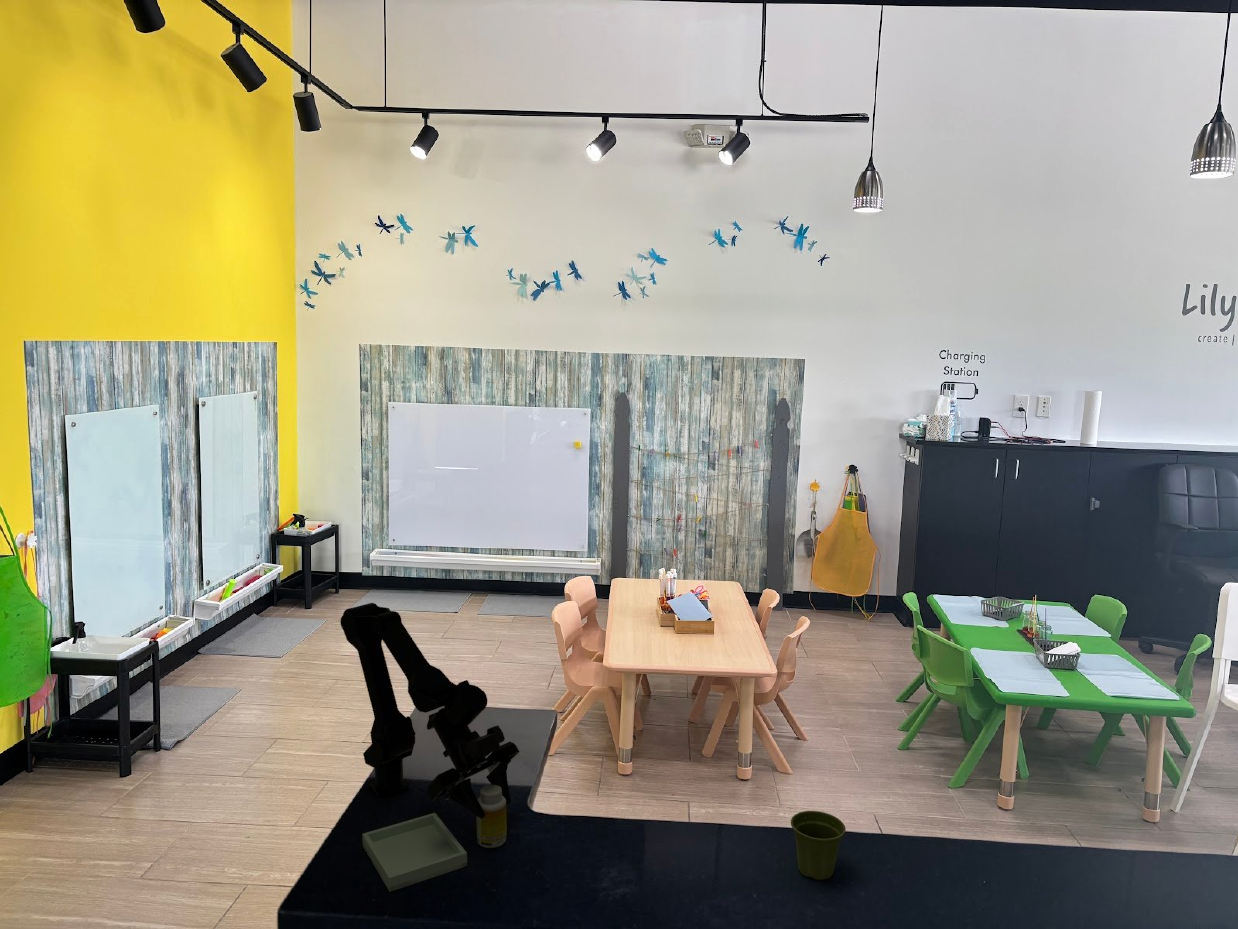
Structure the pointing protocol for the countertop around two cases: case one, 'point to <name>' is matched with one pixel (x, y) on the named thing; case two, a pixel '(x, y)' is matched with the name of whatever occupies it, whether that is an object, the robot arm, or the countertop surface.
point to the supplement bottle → (492, 817)
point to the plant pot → (817, 842)
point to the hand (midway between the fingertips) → (496, 810)
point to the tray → (413, 851)
